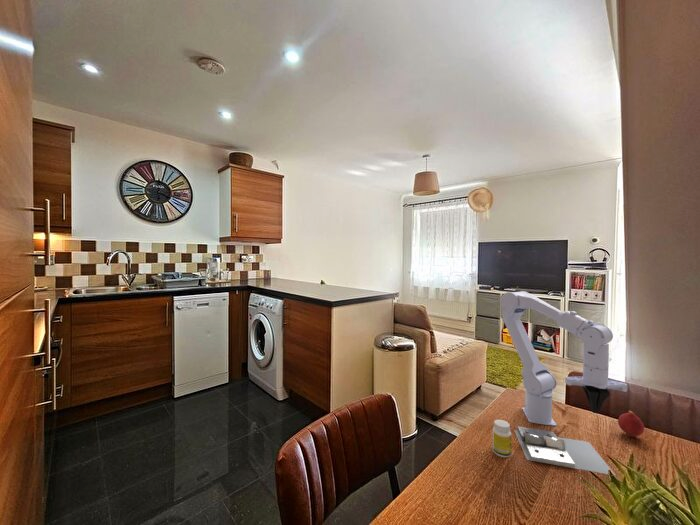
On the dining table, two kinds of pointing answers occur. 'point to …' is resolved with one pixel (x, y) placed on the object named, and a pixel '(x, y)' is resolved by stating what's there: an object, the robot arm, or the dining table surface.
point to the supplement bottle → (501, 438)
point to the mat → (578, 455)
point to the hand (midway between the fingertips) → (594, 411)
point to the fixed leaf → (534, 436)
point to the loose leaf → (551, 452)
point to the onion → (631, 424)
